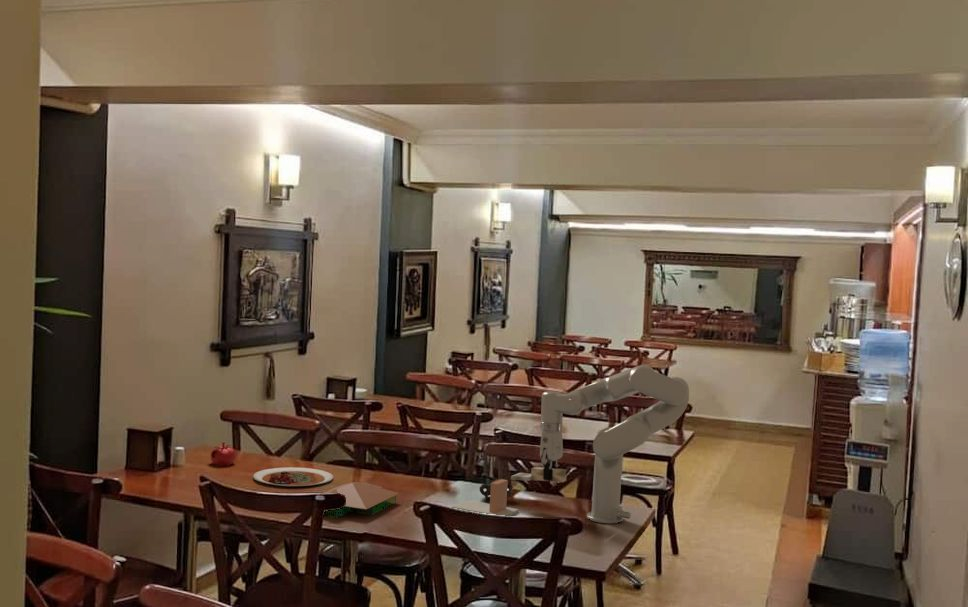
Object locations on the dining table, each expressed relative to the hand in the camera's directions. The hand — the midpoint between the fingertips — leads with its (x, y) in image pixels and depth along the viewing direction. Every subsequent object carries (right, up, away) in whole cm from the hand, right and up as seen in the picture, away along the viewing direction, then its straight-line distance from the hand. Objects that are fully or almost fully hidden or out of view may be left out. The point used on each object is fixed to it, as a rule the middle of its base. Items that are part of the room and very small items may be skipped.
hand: (549, 478), depth 322 cm
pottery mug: (-21, -12, +15) cm, 28 cm away
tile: (-18, -10, -4) cm, 21 cm away
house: (-69, -9, -4) cm, 70 cm away
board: (-23, -11, -2) cm, 25 cm away
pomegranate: (-128, -4, +48) cm, 137 cm away
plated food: (-96, -7, +30) cm, 101 cm away
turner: (-4, -1, +2) cm, 4 cm away
